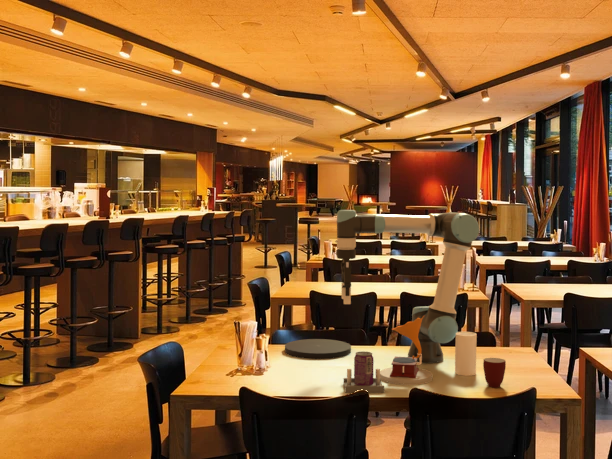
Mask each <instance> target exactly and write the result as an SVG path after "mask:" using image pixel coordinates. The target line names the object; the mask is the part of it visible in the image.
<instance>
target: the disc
mask: <svg viewBox="0 0 612 459" xmlns="http://www.w3.org/2000/svg"><path fill="white" fill-rule="evenodd" d="M284 352H285V354H286V355H288V356H291V357H293V358H298V359H299V358H300V359H307V360H308V359H309V360H331V359H338V358H343V357H346V356H349V355H350V354H351V352H352V345H351V344H350V343H349V342H348V343H347V342H346V341H343V340H342V341H341V340H336V339H327V338H326V339H325V338H307V339H297V340H292V341H289V342H286V343H285V345H284Z"/></svg>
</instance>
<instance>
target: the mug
mask: <svg viewBox="0 0 612 459" xmlns="http://www.w3.org/2000/svg"><path fill="white" fill-rule="evenodd" d="M482 364H483V365H482V366H483V372H484V373H483V374H484V378H485V379H484V380H485V382H486V384H487V386H488V387H490V388H492V389H493V388H494V389H496V388H500V387H501V385H502V384H503V381H504V378H505V373H506V364H507V363H506V359H504V358H500V357H486V358H484V359H483V363H482Z"/></svg>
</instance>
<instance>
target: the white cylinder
mask: <svg viewBox="0 0 612 459" xmlns="http://www.w3.org/2000/svg"><path fill="white" fill-rule="evenodd" d="M477 338H478V336H477V333H476V332H472V331H457V333H456V336H455V340H454V342H455V349H454V350H455V351H454V353H455V354H454V357H455V358H454V374H456V375H459V376H464V377H465V376H467V377H468V376H474V375H475V376H476V374H477Z"/></svg>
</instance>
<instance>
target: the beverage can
mask: <svg viewBox="0 0 612 459" xmlns="http://www.w3.org/2000/svg"><path fill="white" fill-rule="evenodd" d="M353 359H354V360H353V361H354V362H353V363H354V364H353V366H354V367H353V370H354V372H353V378H354V384H356V385H357V386H370V385H372V384H373V378H374V356H373V352H372V351H371V352H370V351H356V352H355V356H354V358H353Z"/></svg>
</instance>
